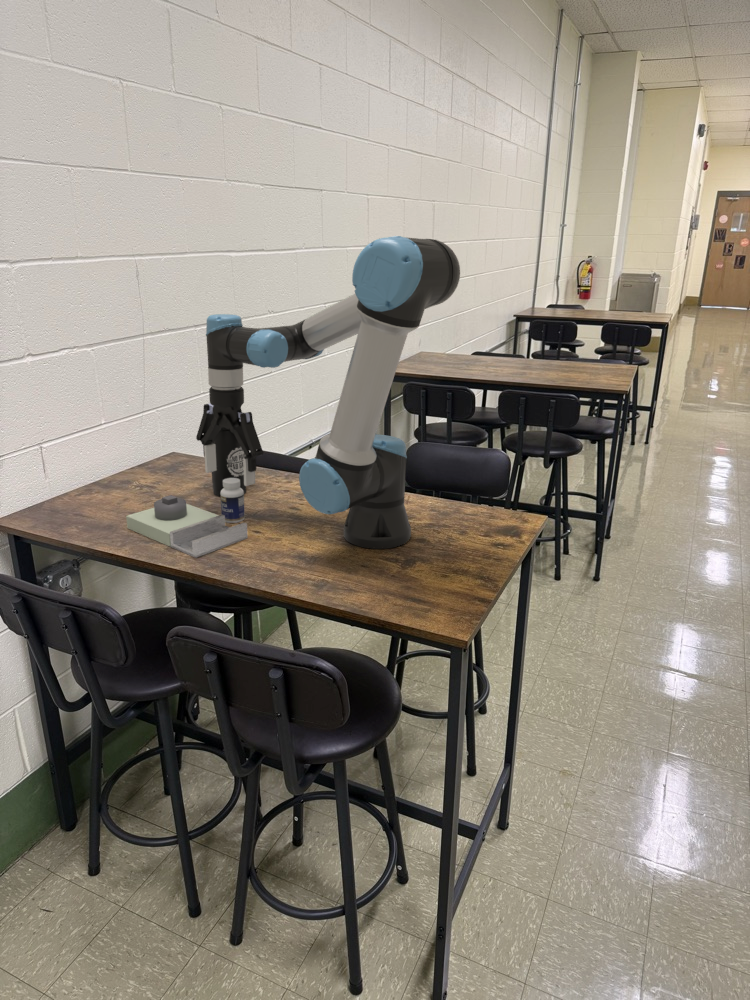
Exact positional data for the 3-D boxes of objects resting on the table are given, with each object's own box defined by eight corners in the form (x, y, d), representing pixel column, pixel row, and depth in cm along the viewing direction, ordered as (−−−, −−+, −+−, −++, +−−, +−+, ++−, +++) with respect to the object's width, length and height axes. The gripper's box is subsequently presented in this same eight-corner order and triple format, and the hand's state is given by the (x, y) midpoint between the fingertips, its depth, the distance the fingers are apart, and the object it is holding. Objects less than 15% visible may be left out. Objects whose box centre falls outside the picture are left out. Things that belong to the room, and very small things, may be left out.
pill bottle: (217, 521, 161) (215, 482, 158) (228, 514, 166) (226, 475, 163) (238, 524, 159) (236, 484, 156) (248, 517, 164) (247, 478, 161)
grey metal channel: (247, 538, 152) (247, 523, 151) (196, 557, 142) (195, 542, 140) (222, 528, 157) (221, 514, 156) (170, 547, 147) (169, 531, 145)
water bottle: (228, 501, 174) (223, 412, 167) (201, 492, 180) (196, 406, 173) (257, 491, 182) (254, 405, 174) (231, 483, 188) (227, 400, 180)
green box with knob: (221, 528, 157) (220, 498, 155) (170, 546, 147) (167, 515, 144) (178, 512, 166) (176, 483, 164) (127, 528, 156) (124, 498, 154)
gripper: (278, 392, 148) (279, 486, 155) (204, 377, 162) (208, 463, 169) (251, 397, 142) (254, 494, 149) (177, 380, 157) (183, 469, 164)
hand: (229, 477), depth 159 cm, fingers open, 13 cm apart
